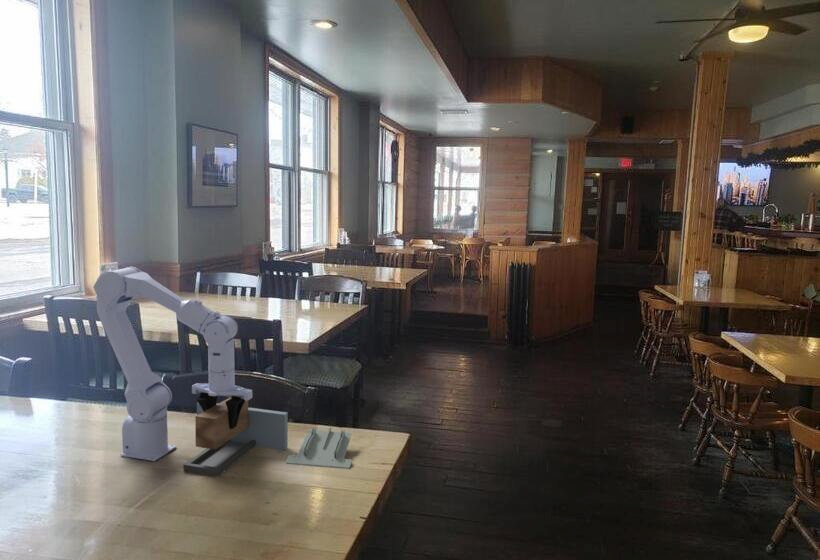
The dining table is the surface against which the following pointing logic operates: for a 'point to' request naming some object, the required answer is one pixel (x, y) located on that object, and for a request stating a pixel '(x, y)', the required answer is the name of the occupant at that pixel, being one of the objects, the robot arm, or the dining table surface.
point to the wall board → (243, 442)
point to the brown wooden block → (218, 425)
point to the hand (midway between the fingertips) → (222, 425)
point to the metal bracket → (323, 450)
